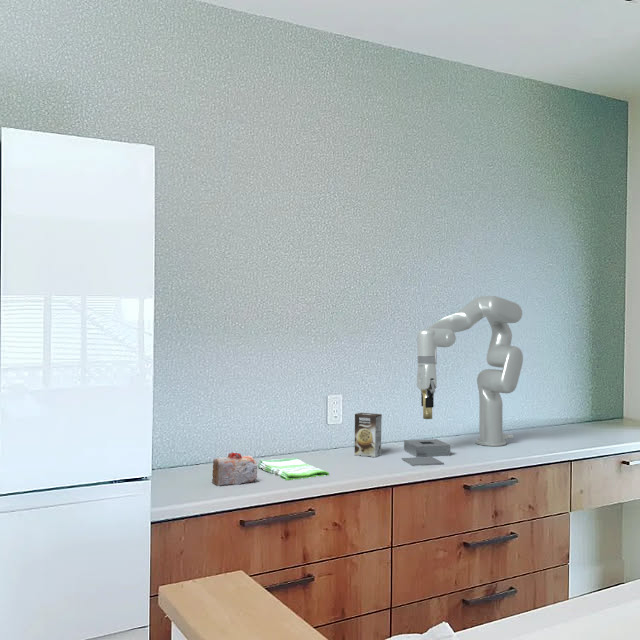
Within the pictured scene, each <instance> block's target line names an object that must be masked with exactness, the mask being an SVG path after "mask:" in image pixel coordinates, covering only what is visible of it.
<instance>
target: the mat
mask: <svg viewBox="0 0 640 640" xmlns="http://www.w3.org/2000/svg"><path fill="white" fill-rule="evenodd" d="M402 459H403V460H402ZM401 460H402V461H404V460H405V461H406V463H407V462H408V464H409V463H410V464H409V465H411V466H412V465H421V466H434V465H435V466H436V465H445V463H444V462H443V461H441V460H439V459H437V458H435V457H434V456H429V457H415V456H413V457H402V458H401ZM405 461H404V462H405Z"/></svg>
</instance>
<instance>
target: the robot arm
mask: <svg viewBox="0 0 640 640" xmlns="http://www.w3.org/2000/svg"><path fill="white" fill-rule="evenodd" d="M522 317H523V309H522V308H521V306H520V305H519V304H518V303H517V302H514V301H510V300H509V299H505V298H503V297H499V296H494V295H489V296H486V295H485V296H484V295H483V296H478V297H475V298H473V299H472V300H470V301H469V302H468V303H467V304H466V305H464V306H463V307H462V308H460V309H459V310H458V311H456V312H454V313H452V314H449V315H447V316H445V317H443V318H441V319H439V320H437V321H435V322H434V323H432V324H431V325H429V326H428V327H427V328H426V329H419V330H417V333H416V334H417V335H416V340H417V343H416V344H417V347H416V348H417V351H416V353H417V355H416V356H417V370H416V371H417V373H416V387H417V388H418V389H419V390H420V396H421V397H420V399H421V403H420V405H421V407H423V391H421V389H423V390H426V397H427V398H425V407H426V408H432V409H433V408H434V406H435V405H434V401H435V400H434V397H435V392H436V389H437V368H436V367H437V366H436V365H437V363H438V362H437V359H438V358H437V356H438V355H437V350H438V349H437V348H450V347H452V346H453V345H454V344H455V343H456V339H457V336H456V333H460V332H465V331H467V330H470V329H471V328H472V327H473V326H474V325H476V324H477V323H479V322H480V321H481V320H483V319H484V318H486V320H487V321H488V323H489V325H490V329H491V337H490V342H489V345H488V350H487V353H486V363H487V364H488V365H489V366H491V367H494V368H500V369H494V368H487V369H486V368H485V369H483V370H481V371H480V372H479V373H478V374H477V377H476V384H477V389H478V396H479V397H478V399H479V402H478V403H479V407H478V408H479V409H478V410H479V413H478V414H479V415H478V416H479V417H478V418H479V423H478V424H479V425H478V427H479V428H478V429H479V433H478V434H479V437H478V438H479V439H478V438H477V439H476V440H475V444H477V445H480V446H489V447H499V446H501V447H502V446H505V445H506V444H507V441H506V440H513V439H514V435H513V434H510V433H509V434H507V433H504V432H503V399H502V397H501V394H511V393H513V392H515V390H516V388H517V386H518V383H519V379H520V375H521V372H522V367H523V363H524V355H523V352H522V350H521V349H520V348H519V347H518V346H516V345H512V341H513V334H512V330H511V328H510V325H509V324H516V323H518V322H520V321H521V319H522ZM501 368H502V369H501ZM428 388H431V389H428ZM428 391H429V393H428Z"/></svg>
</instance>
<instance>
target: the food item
mask: <svg viewBox="0 0 640 640" xmlns="http://www.w3.org/2000/svg"><path fill="white" fill-rule="evenodd" d="M212 463H213V464H212V474H211V475H212V479H211V482H212V484H214V485H216V486H217V487H221V486H228V485H229V486H230V485H234V486H238V485H241V484H248V483H252V482H254V480H256V479H257V477H258V463H257V461H256V460H255V459H254V457H253V456H252V455H242V454H241V453H239V452H238V453H237V452H229V453H228V454H227V456H225V457H216V458H214V459H213V462H212Z"/></svg>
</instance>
